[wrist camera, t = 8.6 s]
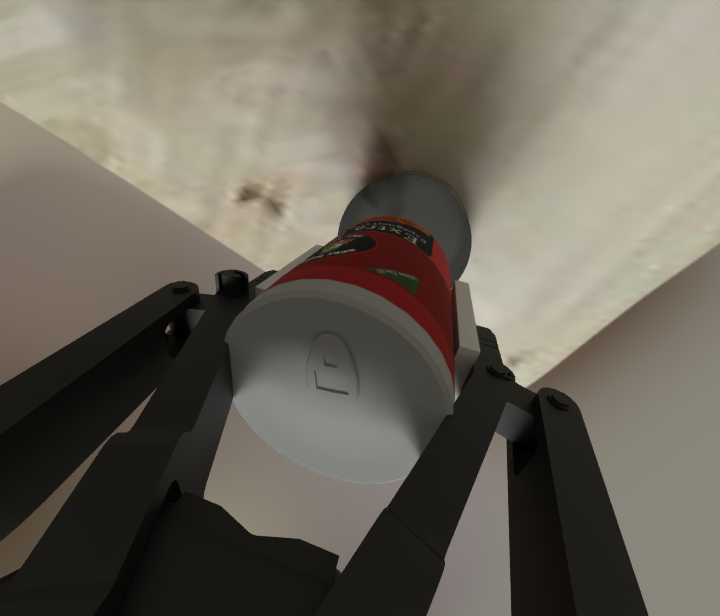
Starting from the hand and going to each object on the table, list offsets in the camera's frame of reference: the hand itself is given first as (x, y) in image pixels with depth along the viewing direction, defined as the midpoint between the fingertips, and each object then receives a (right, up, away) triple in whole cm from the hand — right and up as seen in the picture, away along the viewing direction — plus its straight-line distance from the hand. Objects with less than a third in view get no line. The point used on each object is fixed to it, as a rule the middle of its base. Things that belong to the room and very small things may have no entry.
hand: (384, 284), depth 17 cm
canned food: (0, +1, +1) cm, 1 cm away
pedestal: (+3, +6, +11) cm, 13 cm away
